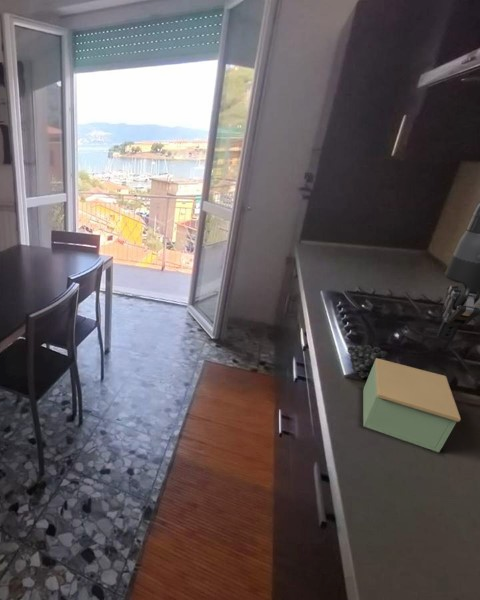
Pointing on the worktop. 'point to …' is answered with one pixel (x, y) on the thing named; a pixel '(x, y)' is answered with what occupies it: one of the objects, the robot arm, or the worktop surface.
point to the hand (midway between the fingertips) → (443, 338)
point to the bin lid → (415, 389)
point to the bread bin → (403, 419)
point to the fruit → (365, 358)
